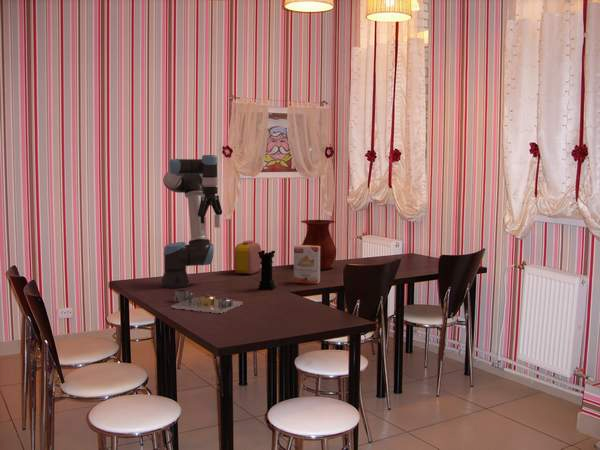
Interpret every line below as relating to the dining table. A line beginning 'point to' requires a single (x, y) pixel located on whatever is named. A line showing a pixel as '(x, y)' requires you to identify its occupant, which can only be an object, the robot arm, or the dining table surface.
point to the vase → (321, 240)
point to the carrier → (207, 304)
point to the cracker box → (306, 264)
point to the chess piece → (266, 271)
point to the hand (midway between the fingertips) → (210, 228)
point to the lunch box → (247, 257)
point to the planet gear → (181, 295)
